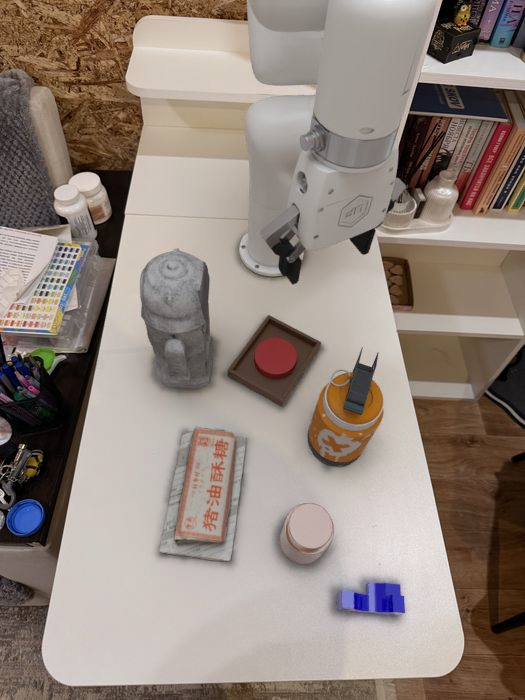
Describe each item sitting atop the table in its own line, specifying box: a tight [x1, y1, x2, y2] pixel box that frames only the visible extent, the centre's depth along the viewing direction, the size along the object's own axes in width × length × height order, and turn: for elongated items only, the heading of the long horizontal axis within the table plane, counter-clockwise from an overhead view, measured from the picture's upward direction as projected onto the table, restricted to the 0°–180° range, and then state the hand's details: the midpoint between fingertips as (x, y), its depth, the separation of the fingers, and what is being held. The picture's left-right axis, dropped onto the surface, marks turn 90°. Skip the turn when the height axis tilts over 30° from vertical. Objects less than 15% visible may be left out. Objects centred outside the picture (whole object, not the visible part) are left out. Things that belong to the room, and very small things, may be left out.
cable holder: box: [336, 582, 406, 616], centre depth 67 cm, size 8×4×4 cm, turn 85°
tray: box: [227, 314, 322, 407], centre depth 86 cm, size 13×11×2 cm
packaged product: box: [158, 425, 248, 562], centre depth 73 cm, size 18×5×10 cm
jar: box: [279, 502, 335, 565], centre depth 68 cm, size 6×6×10 cm
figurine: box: [139, 247, 215, 389], centre depth 76 cm, size 10×14×25 cm
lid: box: [254, 338, 297, 379], centre depth 86 cm, size 7×7×2 cm
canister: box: [307, 346, 385, 467], centre depth 72 cm, size 9×11×20 cm
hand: (324, 260), depth 60 cm, fingers open, 9 cm apart
